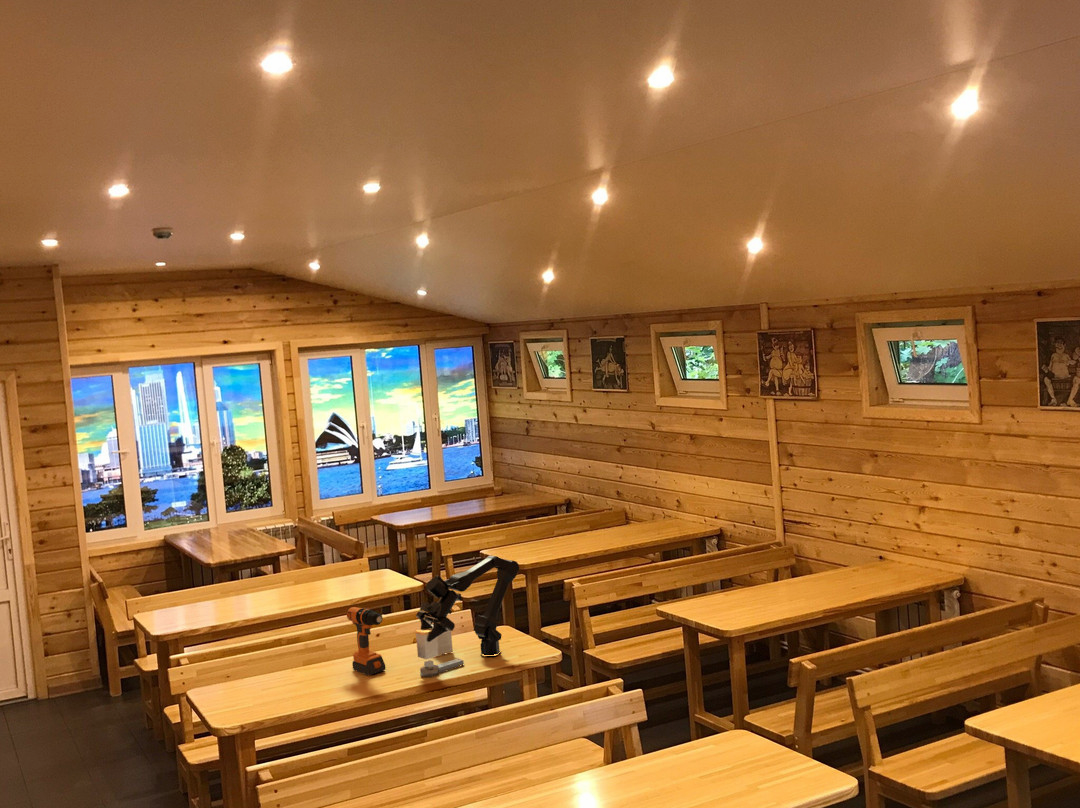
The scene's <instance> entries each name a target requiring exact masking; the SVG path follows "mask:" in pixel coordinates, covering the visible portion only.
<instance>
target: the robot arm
mask: <svg viewBox="0 0 1080 808" xmlns="http://www.w3.org/2000/svg"><path fill="white" fill-rule="evenodd" d="M519 565H520V564H519V563H518V561H516V560H510V559H503V558H502V557H500V556H497V555H496V556H495V555H488V556H487V557H486V558H485V559H483V560H482V561H480V562H478V563H477V564H475V565H474V566H472V567H470V568H469V569H468V570H465V571H462V572H458V573H455V574H452V575H451V576H450V577H449V578H448V579H446V580H444V579H442V577H441V576H440V575H435V576H434V577H433V578H431V579H430V580H429V581H428V582H427V583H426V586H425V589H426V591H428V592H429V593H431V594H432V595H433V596H434V597H435V598H437V599H439V600H438V601H437V602H436V601H435V602H434V601H432V602H431V603H428V602H424V601H421V604H420V607H419V611H417V613H416V615H415V616H416V618H417V619H419V622H420V629H424V628H427V627H429V628H433V629H432V631H431V633H430V635H429V637H428V639H427V641H428V642H430V641H432V640H433V639H435V638H436V637H437V636H439V635H441V634H442V633H444V632H447V630H446V629H448V630H450V631H451V632H453V630H454V629H455V627H456V625H455V623H454V621H452V620H451V619H449V617H448V615H451V614H452V613H453V611H452V608H453V607H454V605H455V604H456V602H457V601H459V602H462V601H463V598H462V594H461V593H459V592H466V590H467V589H468V588H470V586H471V585H472V583H473V582H474V581H475V580H478V578H480V577H481V576H483V575H484V574H486V573H488V572H489V571H491V570H492V569H496V576H497V579H496V580H497V581H496V582H495V585H494V588H493V591H492V592H491V596H490V599H489V601H488V603H487V606H486V609H485V611H484V613H483V614H482V615H479V614H478V615H477V617H476V619H475V623H474V624H473V625H474V627H473V631H474V633H475V635H476V636H477V639H479V640H480V641H481V643H480V645H479V646H480V654H481V655H482V654H484V655H494V654H498V653H499V652H500V651H501V649H500V641H501V639H502V633H501V632H499V631H498V629H497V627H498V622H497V616H498V614H499V611H500V608H501V606H502V604H503V601H504V598H505V595H506V593H507V590H508V588H509V586H510V583H512V581H514V579H515V578H516V577H517V575H518V574H519V571H520V566H519ZM456 591H457V592H456ZM431 624H433V626H431Z"/></svg>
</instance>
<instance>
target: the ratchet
mask: <svg viewBox="0 0 1080 808" xmlns="http://www.w3.org/2000/svg"><path fill="white" fill-rule="evenodd" d="M464 662H465V661H464V659H462V658H461V659H460V658H455V659H452V660H449V661H446V662H442V663H439V664H435V663H434V660H431V659H427V660H425V661H424V662H423V663H424V666H422V667H420V669H419V670H420V677H422V678H434V677H436V676H439V674H441V673H443V672H444V673H445V672H447V671H446V670H448V671H450V670H449V669H451V670H453V669H452V668H454V669H456V668H455V667H457V668H459V667H458V666H460V665H463V664H464V665H465V663H464ZM464 665H463V666H464ZM460 667H461V666H460Z"/></svg>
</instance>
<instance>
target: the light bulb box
mask: <svg viewBox="0 0 1080 808" xmlns="http://www.w3.org/2000/svg"><path fill="white" fill-rule="evenodd" d="M431 626H433V623H432V624H431ZM432 629H433V628H432ZM446 630H447V632H444V633H442V634H441V635H439V636H437V644H438V655H441V654H445V653H449V652H453V653H454V650H453V639H452V637H453V635H452V631H450V630H448V629H446ZM441 656H442V655H441Z"/></svg>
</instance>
